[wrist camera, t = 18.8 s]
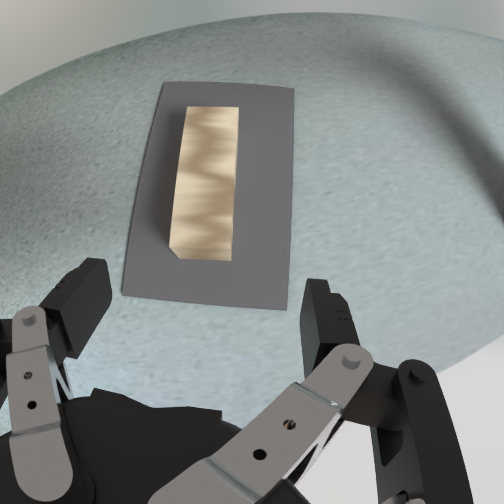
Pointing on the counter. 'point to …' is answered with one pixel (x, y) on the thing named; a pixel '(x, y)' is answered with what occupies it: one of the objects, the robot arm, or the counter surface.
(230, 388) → the counter surface
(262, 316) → the counter surface
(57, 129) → the counter surface
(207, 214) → the wooden block
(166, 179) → the mat
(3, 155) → the counter surface
